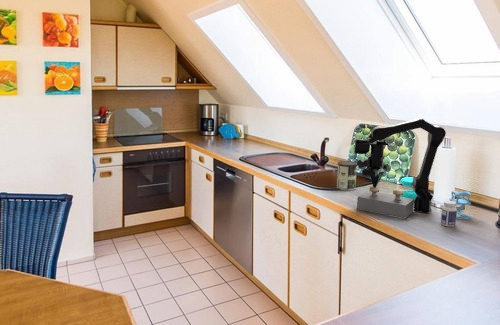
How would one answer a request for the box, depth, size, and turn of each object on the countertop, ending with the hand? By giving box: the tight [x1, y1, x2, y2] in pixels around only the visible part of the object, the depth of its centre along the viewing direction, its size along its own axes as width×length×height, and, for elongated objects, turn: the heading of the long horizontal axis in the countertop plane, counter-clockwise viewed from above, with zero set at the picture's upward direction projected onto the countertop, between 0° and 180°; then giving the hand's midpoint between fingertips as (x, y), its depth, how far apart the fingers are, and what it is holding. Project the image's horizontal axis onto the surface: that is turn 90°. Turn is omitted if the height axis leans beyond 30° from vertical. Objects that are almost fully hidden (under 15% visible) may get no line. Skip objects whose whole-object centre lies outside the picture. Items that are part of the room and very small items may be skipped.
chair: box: [449, 190, 472, 220], centre depth 192 cm, size 8×8×12 cm
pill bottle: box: [440, 200, 458, 228], centre depth 181 cm, size 6×6×10 cm
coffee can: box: [336, 160, 358, 191], centre depth 237 cm, size 10×10×14 cm
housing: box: [356, 190, 414, 219], centre depth 199 cm, size 22×12×6 cm, turn 53°
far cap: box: [369, 185, 380, 197], centre depth 202 cm, size 4×4×7 cm
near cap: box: [392, 188, 404, 201], centre depth 195 cm, size 4×4×7 cm
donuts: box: [400, 176, 417, 200], centre depth 219 cm, size 10×10×10 cm
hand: (374, 187), depth 201 cm, fingers closed, pressing on far cap
